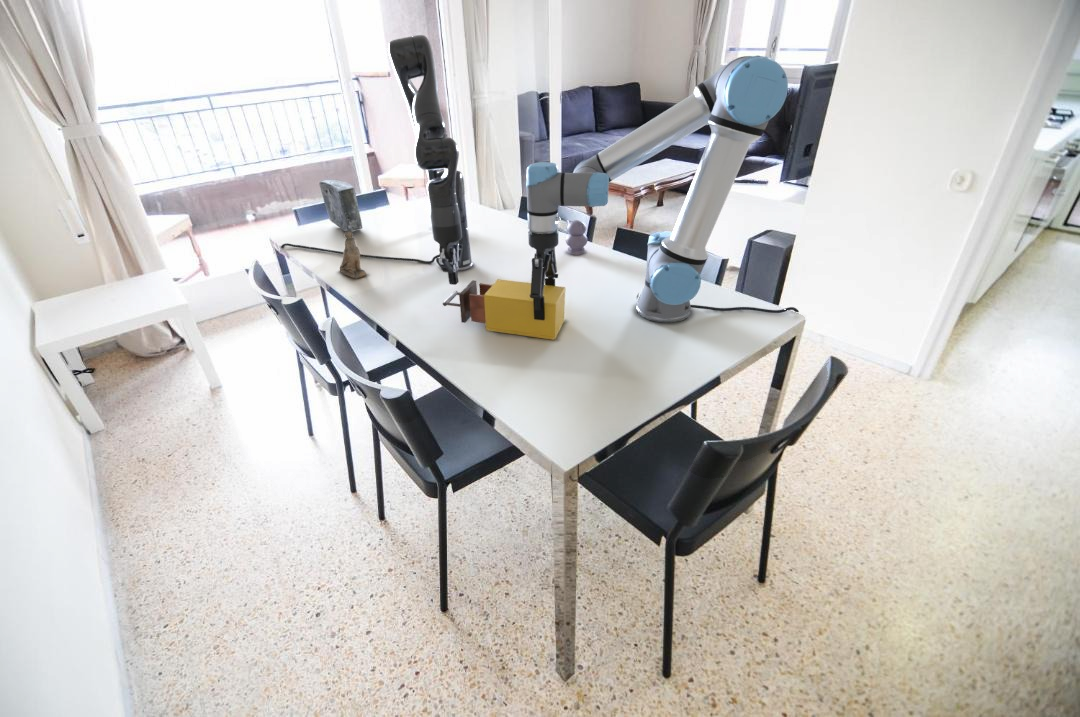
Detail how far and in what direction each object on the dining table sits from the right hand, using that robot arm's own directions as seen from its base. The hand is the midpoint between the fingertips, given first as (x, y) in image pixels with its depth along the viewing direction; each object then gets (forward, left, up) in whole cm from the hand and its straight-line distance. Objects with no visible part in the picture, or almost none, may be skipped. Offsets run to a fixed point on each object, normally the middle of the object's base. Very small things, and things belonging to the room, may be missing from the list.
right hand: (545, 309), depth 135 cm
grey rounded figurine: (-24, -58, -6) cm, 63 cm away
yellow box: (+5, -3, -6) cm, 8 cm away
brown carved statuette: (+59, -59, -6) cm, 83 cm away
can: (+28, -107, -6) cm, 110 cm away
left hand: (+23, -11, +6) cm, 27 cm away
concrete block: (+68, -116, -6) cm, 135 cm away
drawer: (+15, -7, -4) cm, 17 cm away
